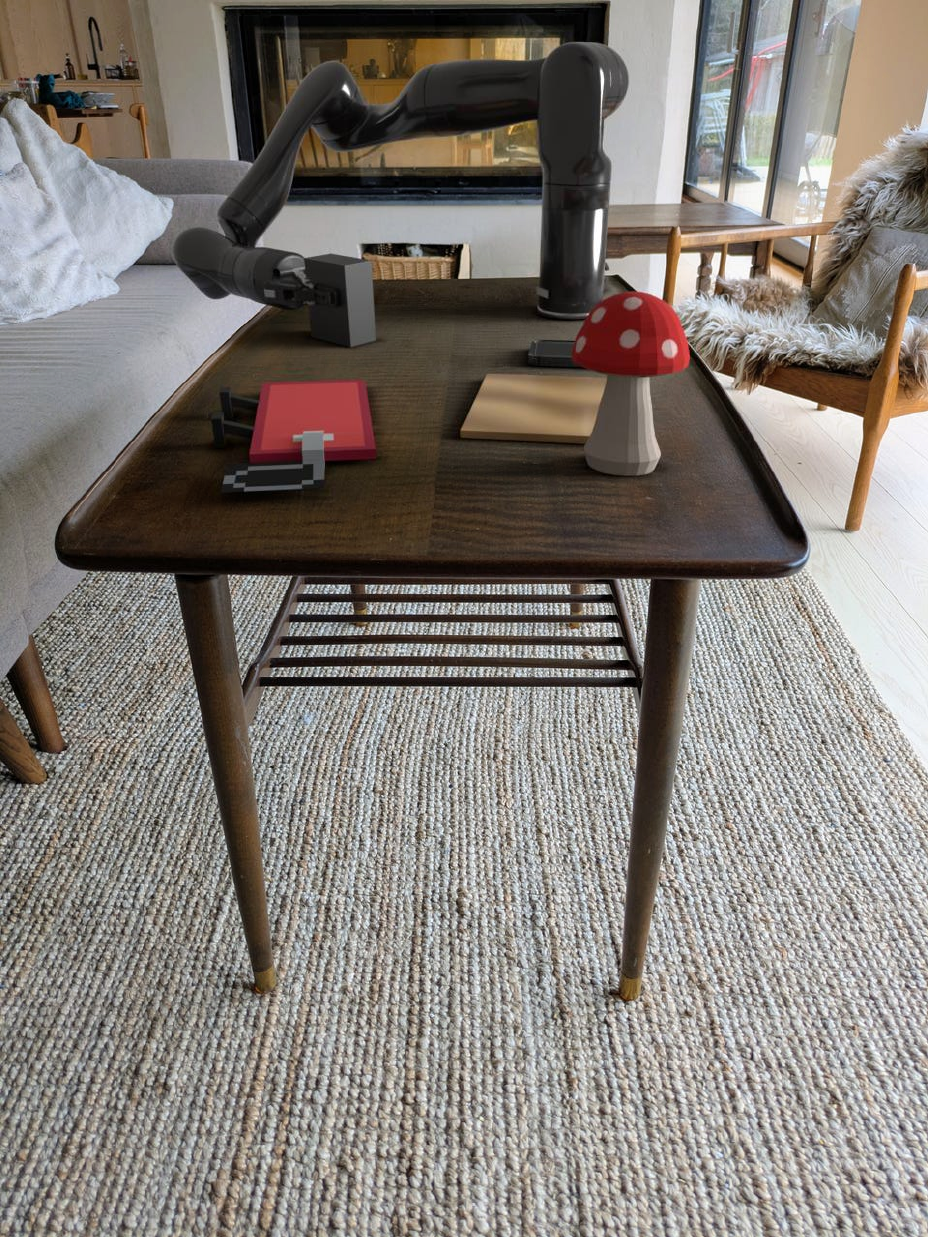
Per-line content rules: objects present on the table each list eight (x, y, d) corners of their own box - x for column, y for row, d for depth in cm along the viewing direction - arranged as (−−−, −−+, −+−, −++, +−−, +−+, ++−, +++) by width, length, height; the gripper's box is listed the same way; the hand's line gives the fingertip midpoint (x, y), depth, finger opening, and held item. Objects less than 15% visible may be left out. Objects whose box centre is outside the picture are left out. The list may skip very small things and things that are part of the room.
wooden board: (487, 380, 104) (487, 373, 103) (636, 385, 101) (637, 378, 101) (460, 437, 88) (460, 430, 87) (637, 446, 85) (638, 438, 85)
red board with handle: (198, 504, 74) (381, 495, 76) (193, 471, 73) (380, 463, 75) (229, 396, 100) (365, 391, 102) (226, 371, 98) (364, 366, 100)
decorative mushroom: (554, 475, 79) (562, 299, 72) (578, 442, 86) (588, 278, 79) (668, 490, 76) (689, 307, 69) (683, 454, 83) (704, 285, 76)
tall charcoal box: (311, 336, 121) (303, 257, 116) (338, 330, 124) (331, 253, 119) (350, 347, 116) (344, 265, 111) (377, 340, 119) (372, 260, 114)
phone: (532, 339, 114) (653, 342, 112) (532, 348, 115) (652, 351, 113) (527, 356, 108) (655, 359, 106) (527, 365, 108) (654, 369, 106)
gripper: (316, 296, 132) (396, 314, 122) (233, 314, 123) (312, 335, 113) (311, 242, 128) (393, 255, 118) (225, 256, 119) (306, 272, 109)
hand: (353, 294), depth 116 cm, fingers open, 5 cm apart
